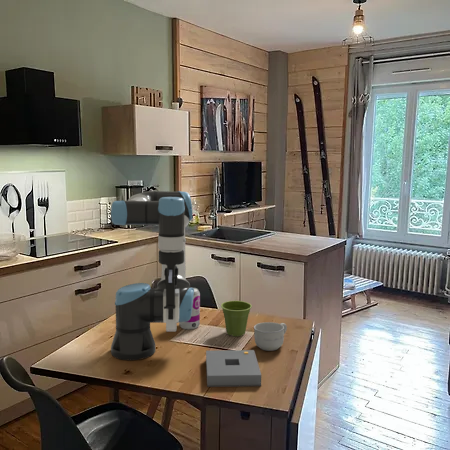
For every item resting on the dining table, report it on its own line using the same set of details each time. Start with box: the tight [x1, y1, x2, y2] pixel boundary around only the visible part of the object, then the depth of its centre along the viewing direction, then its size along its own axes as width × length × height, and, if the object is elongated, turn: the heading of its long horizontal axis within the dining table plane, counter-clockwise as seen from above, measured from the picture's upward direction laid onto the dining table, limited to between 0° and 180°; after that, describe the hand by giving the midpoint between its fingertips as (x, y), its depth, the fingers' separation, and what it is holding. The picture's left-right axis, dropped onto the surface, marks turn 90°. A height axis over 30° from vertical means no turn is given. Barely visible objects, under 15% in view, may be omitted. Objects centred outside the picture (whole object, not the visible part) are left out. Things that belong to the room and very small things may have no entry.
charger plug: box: [162, 289, 179, 332], centre depth 139 cm, size 4×4×12 cm
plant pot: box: [220, 300, 253, 337], centre depth 178 cm, size 12×12×11 cm
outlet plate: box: [205, 349, 262, 388], centre depth 146 cm, size 16×18×4 cm
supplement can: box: [178, 287, 201, 330], centre depth 185 cm, size 8×8×15 cm
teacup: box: [253, 321, 288, 352], centre depth 166 cm, size 14×11×8 cm
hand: (171, 325), depth 139 cm, fingers closed on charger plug, 4 cm apart
